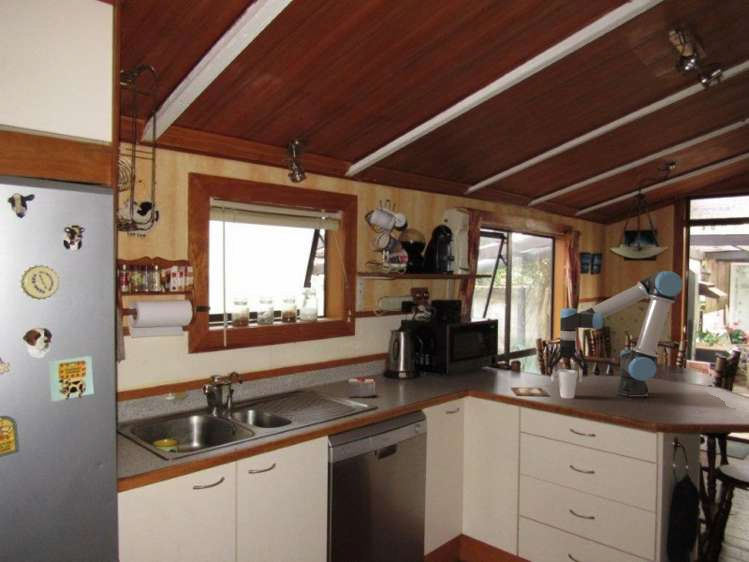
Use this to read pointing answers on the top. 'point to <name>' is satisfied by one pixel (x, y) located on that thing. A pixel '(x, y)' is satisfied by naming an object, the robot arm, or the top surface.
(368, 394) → the food item
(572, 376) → the foam cup
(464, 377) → the top surface
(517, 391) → the trivet
